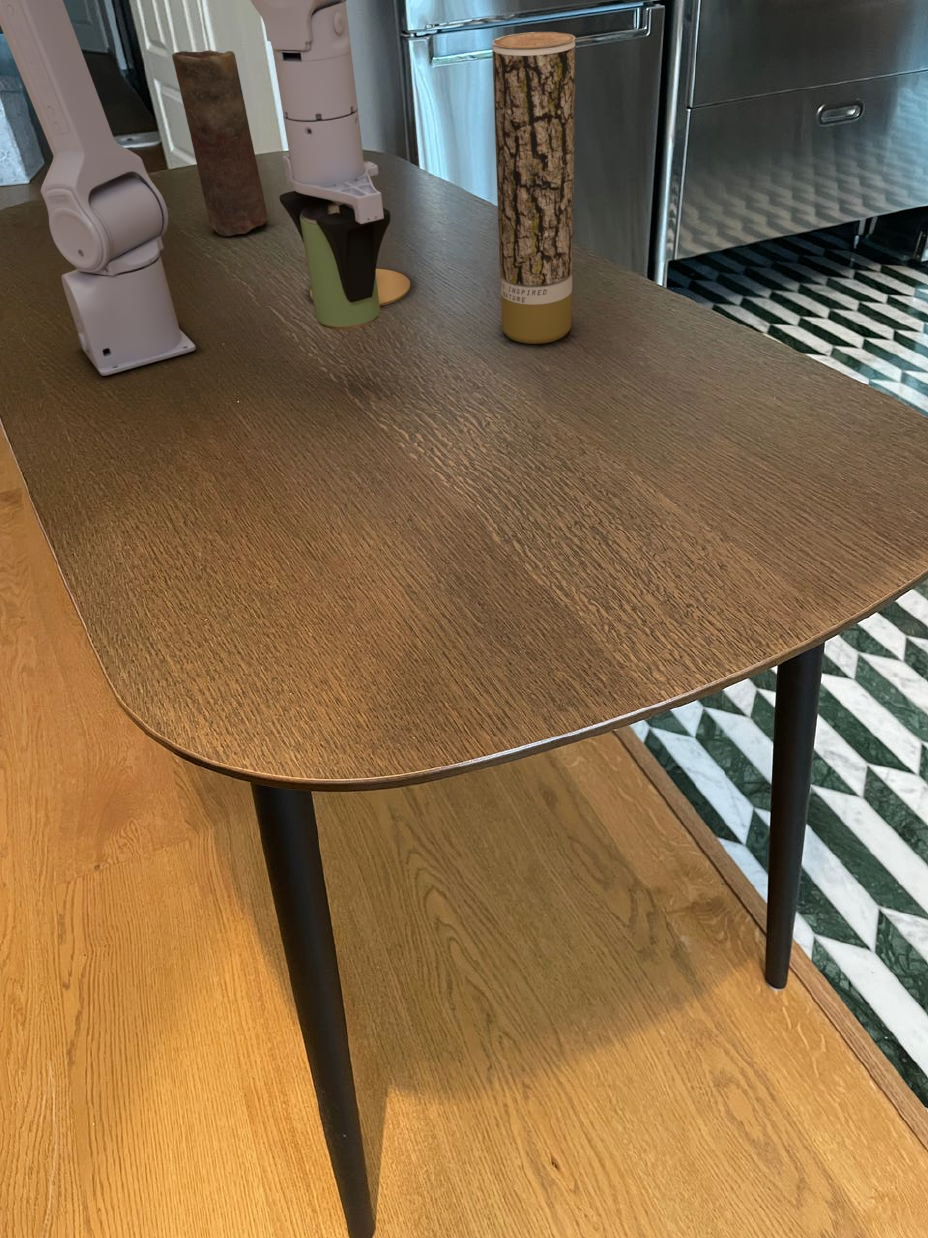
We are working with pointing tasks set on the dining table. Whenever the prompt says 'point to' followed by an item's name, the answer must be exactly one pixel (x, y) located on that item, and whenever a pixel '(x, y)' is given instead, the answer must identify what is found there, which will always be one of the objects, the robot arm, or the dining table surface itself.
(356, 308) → the can
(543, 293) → the paper tube
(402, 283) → the coaster
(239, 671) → the dining table surface
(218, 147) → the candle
